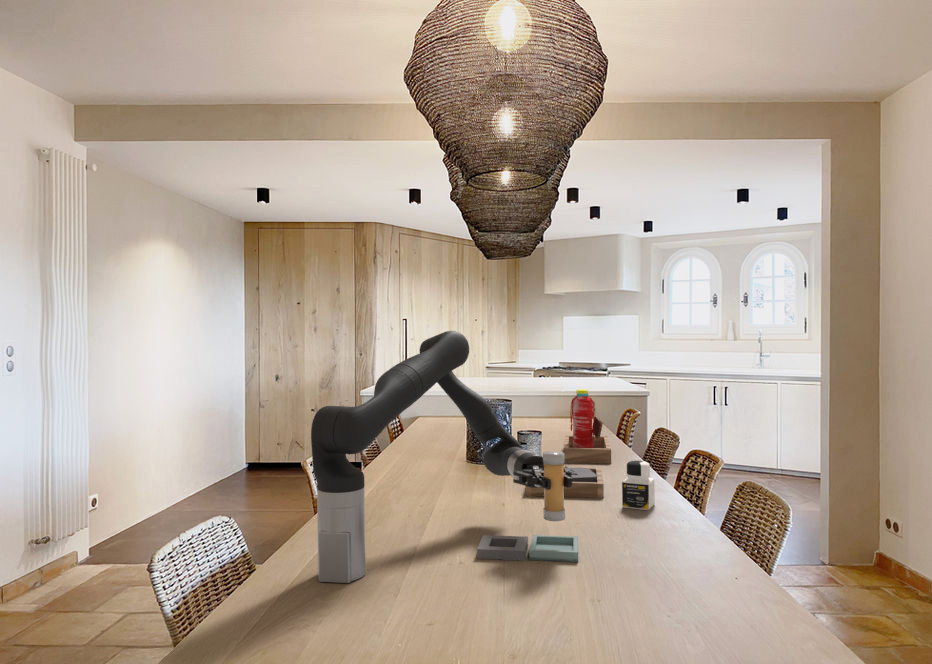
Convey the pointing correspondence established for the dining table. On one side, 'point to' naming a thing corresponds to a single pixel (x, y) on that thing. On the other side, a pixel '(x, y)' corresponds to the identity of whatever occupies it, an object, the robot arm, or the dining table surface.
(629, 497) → the medicine bottle
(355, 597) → the dining table surface
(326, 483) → the robot arm
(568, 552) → the parts tray
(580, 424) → the water bottle
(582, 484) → the square wooden tray
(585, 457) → the bottle rack
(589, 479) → the streaming box
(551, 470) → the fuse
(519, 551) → the frame
